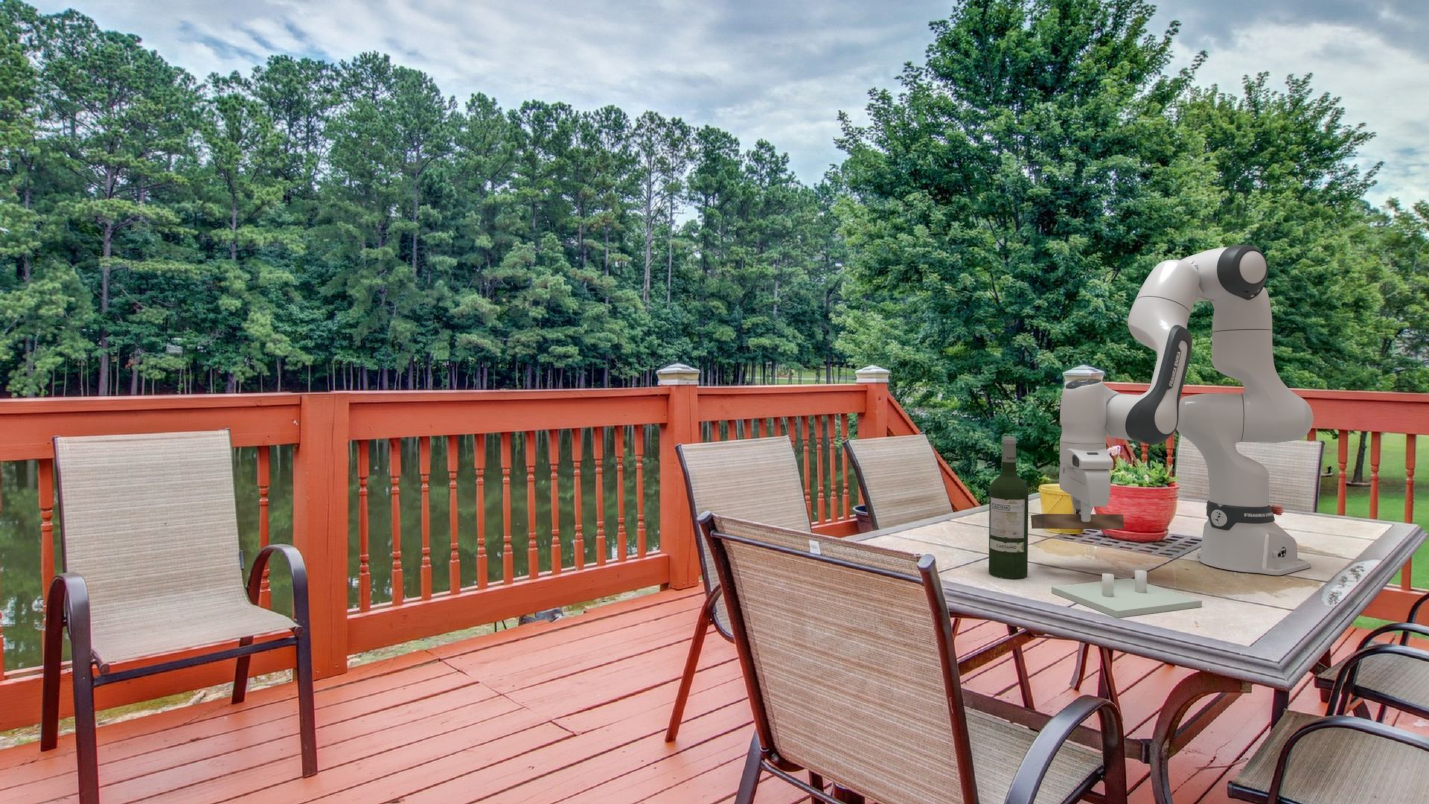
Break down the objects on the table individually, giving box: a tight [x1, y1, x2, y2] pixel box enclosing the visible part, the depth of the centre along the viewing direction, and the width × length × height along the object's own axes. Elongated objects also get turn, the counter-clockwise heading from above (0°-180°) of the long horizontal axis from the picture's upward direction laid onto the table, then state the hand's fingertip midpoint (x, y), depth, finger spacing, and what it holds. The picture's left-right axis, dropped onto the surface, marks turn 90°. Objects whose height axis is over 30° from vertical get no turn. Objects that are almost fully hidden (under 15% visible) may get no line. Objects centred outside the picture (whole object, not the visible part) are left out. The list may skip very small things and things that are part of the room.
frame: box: [1030, 513, 1125, 530], centre depth 162 cm, size 16×10×3 cm, turn 82°
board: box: [1051, 569, 1203, 619], centre depth 143 cm, size 20×16×5 cm
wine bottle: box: [988, 436, 1029, 580], centre depth 160 cm, size 8×8×30 cm
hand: (1081, 519), depth 159 cm, fingers closed on frame, 2 cm apart
